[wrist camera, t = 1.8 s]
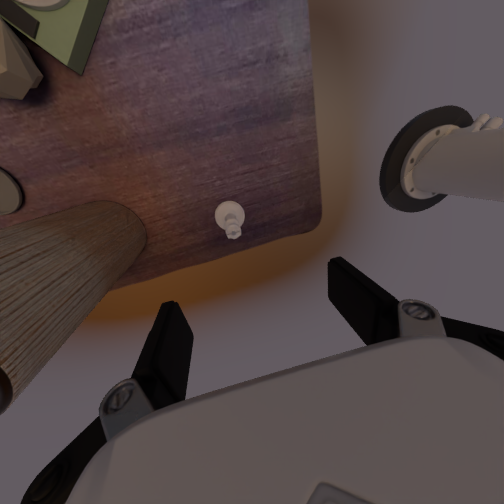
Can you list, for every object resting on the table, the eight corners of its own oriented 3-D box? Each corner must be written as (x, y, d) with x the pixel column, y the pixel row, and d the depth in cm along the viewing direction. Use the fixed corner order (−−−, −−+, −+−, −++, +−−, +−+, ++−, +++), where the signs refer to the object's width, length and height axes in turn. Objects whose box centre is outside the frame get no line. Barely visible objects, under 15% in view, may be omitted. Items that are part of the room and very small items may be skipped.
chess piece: (210, 205, 30) (207, 223, 21) (240, 197, 30) (250, 211, 21) (219, 233, 32) (220, 260, 23) (247, 225, 32) (258, 249, 23)
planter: (102, 268, 31) (-111, 461, 11) (57, 212, 27) (-441, 364, 7) (159, 249, 32) (54, 404, 11) (124, 190, 27) (-156, 272, 7)
